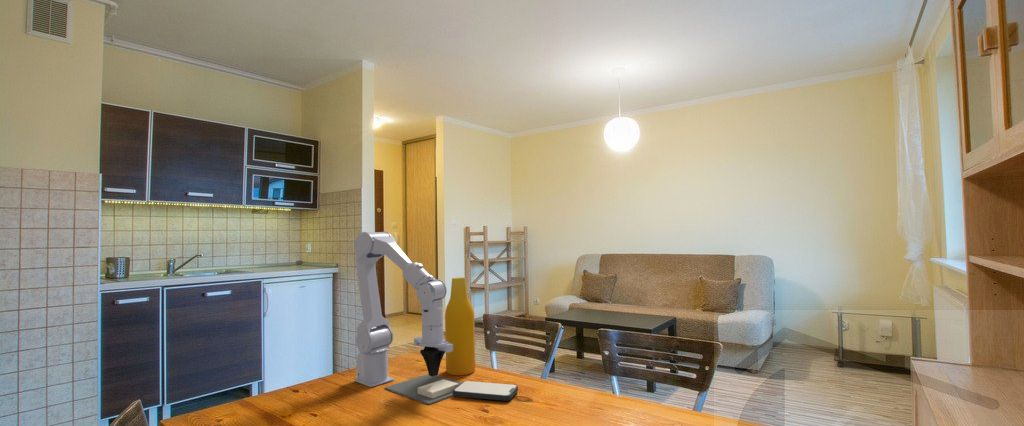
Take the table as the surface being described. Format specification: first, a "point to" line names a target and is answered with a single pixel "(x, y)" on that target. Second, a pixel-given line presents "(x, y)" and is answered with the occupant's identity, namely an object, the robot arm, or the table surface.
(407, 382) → the mat
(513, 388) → the phone case
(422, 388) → the card deck
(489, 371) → the table surface
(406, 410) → the table surface
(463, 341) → the beer bottle
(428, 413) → the table surface
